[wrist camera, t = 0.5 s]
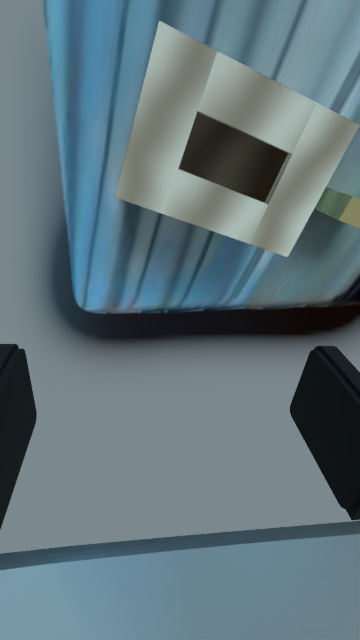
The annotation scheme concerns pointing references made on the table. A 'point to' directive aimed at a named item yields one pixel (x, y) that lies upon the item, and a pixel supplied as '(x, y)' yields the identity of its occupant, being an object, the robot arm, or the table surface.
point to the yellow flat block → (340, 207)
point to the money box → (228, 146)
